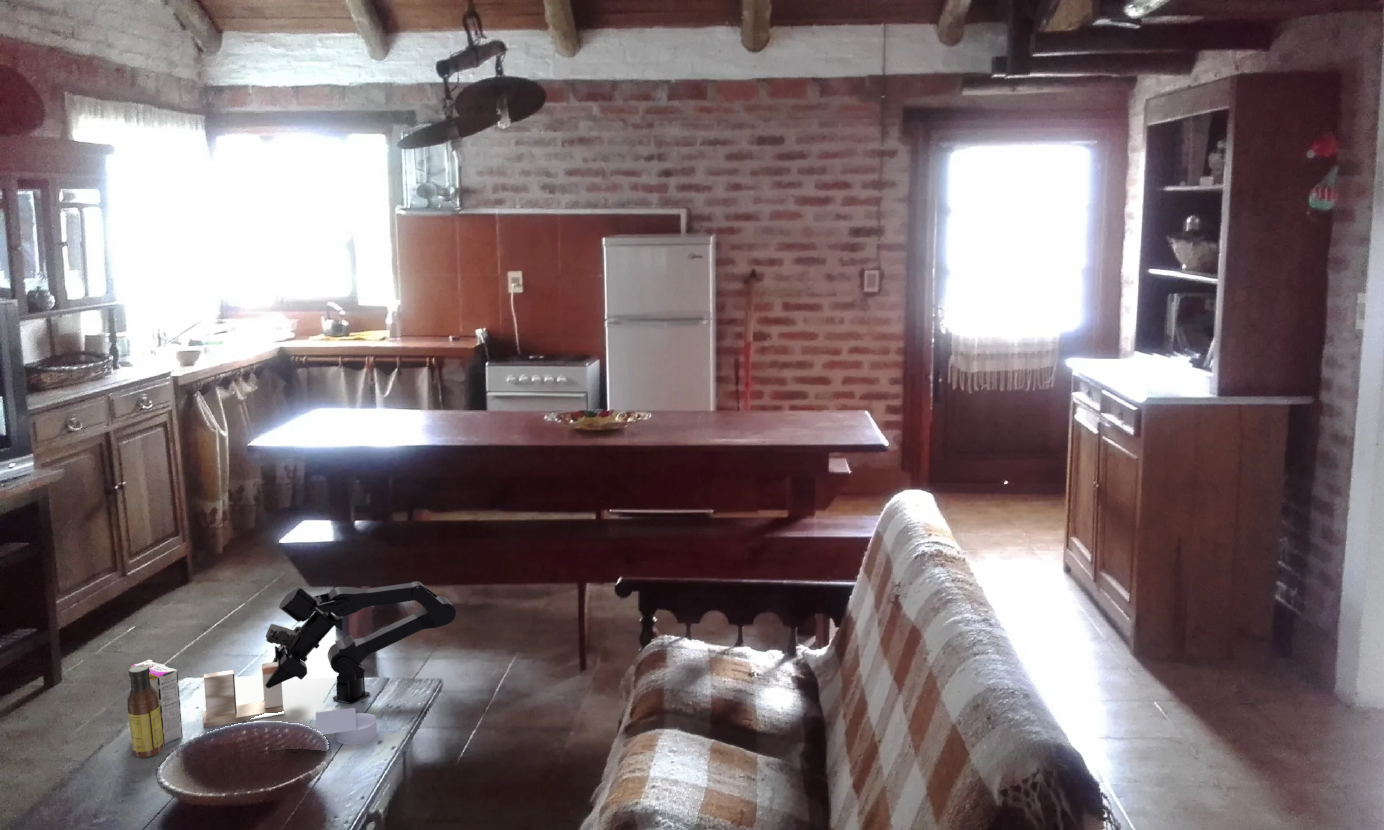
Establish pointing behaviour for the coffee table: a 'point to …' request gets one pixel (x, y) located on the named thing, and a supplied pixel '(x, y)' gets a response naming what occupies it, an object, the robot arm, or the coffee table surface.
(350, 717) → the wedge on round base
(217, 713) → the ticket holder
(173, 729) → the candy bar box
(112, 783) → the coffee table surface
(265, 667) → the white tall block
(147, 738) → the sauce bottle
